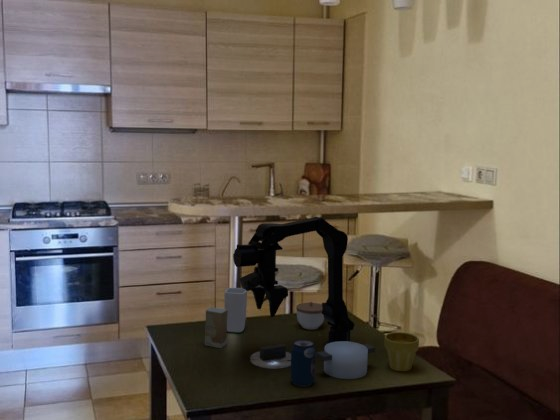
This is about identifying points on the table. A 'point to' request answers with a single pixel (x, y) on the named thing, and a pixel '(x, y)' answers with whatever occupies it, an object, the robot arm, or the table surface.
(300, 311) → the lidded jar
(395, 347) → the plant pot
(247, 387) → the table surface
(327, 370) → the pot
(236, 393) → the table surface
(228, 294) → the cup
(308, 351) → the soda can
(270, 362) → the lid
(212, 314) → the skincare box
